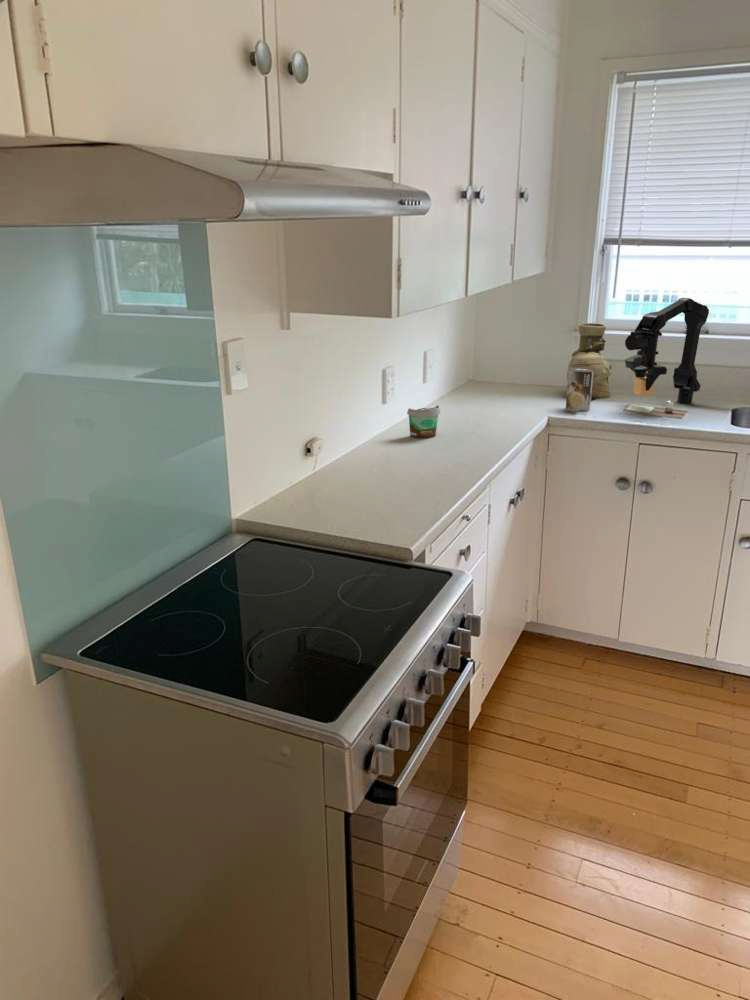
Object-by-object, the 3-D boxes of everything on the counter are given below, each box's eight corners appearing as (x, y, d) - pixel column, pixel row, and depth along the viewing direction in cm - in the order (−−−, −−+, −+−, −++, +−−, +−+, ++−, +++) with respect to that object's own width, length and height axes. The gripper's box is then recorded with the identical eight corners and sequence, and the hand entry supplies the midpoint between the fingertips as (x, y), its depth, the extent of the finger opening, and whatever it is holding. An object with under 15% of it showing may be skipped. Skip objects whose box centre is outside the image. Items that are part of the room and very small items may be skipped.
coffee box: (590, 409, 295) (595, 369, 290) (588, 413, 290) (593, 372, 284) (566, 407, 299) (570, 367, 293) (564, 411, 293) (568, 370, 287)
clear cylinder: (665, 411, 289) (666, 400, 288) (673, 412, 288) (674, 401, 286) (663, 413, 287) (665, 401, 285) (671, 414, 285) (673, 402, 284)
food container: (415, 441, 252) (416, 412, 248) (406, 436, 257) (407, 408, 253) (446, 436, 257) (447, 408, 254) (436, 432, 262) (438, 404, 259)
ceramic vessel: (622, 395, 320) (631, 324, 309) (596, 403, 306) (604, 329, 295) (582, 388, 332) (590, 320, 322) (556, 395, 319) (563, 324, 308)
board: (629, 406, 301) (630, 404, 301) (687, 413, 291) (688, 411, 290) (621, 413, 290) (621, 411, 289) (681, 421, 279) (681, 418, 279)
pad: (631, 405, 298) (631, 404, 298) (654, 408, 294) (654, 407, 294) (625, 410, 291) (625, 409, 291) (649, 413, 287) (649, 412, 287)
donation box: (632, 392, 292) (634, 377, 290) (644, 392, 293) (646, 376, 291) (640, 395, 287) (642, 379, 285) (652, 395, 288) (654, 379, 286)
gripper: (616, 345, 291) (611, 384, 296) (643, 353, 274) (638, 395, 279) (641, 344, 293) (636, 383, 299) (670, 352, 276) (664, 393, 282)
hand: (643, 388), depth 290 cm, fingers closed on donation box, 5 cm apart
